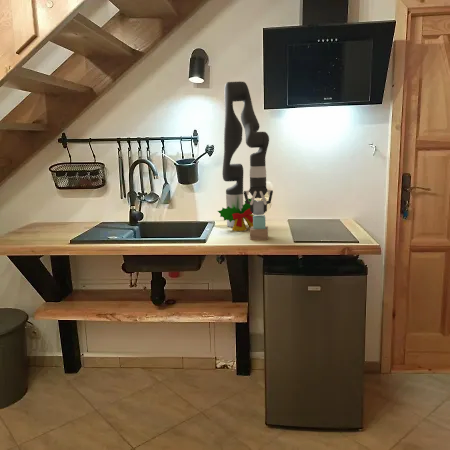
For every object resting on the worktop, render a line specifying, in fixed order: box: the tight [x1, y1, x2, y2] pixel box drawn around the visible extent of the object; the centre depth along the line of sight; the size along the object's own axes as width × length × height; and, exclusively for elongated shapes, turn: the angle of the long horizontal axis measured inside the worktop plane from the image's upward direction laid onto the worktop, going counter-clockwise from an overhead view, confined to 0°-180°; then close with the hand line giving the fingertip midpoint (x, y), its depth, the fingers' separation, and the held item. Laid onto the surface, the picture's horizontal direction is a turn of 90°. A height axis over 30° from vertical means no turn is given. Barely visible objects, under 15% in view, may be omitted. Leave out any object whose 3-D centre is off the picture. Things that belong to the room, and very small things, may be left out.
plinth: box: [249, 225, 269, 241], centre depth 209 cm, size 8×8×5 cm
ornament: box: [217, 197, 257, 232], centre depth 228 cm, size 21×8×15 cm, turn 96°
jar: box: [253, 200, 265, 215], centre depth 207 cm, size 5×5×6 cm
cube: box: [253, 214, 267, 229], centre depth 208 cm, size 6×6×6 cm
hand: (258, 212), depth 207 cm, fingers closed on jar, 5 cm apart
